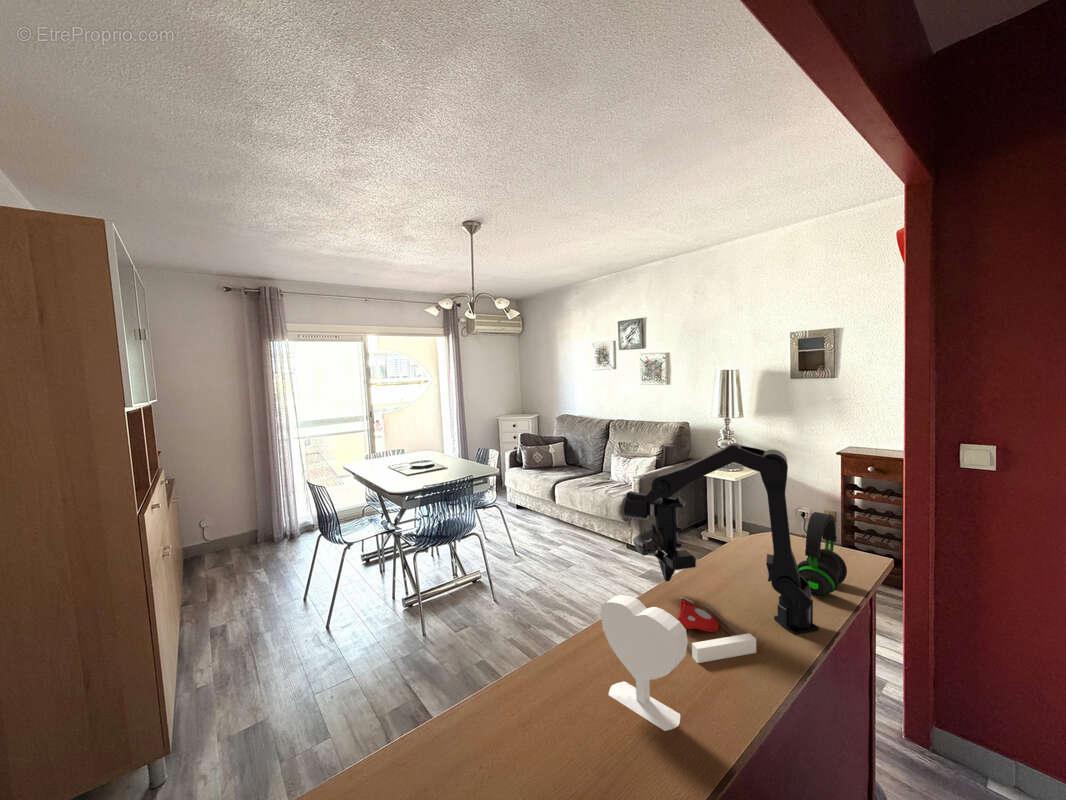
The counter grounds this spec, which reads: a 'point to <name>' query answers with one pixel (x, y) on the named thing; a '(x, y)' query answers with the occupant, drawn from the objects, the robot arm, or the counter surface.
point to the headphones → (822, 556)
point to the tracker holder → (696, 617)
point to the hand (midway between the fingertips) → (666, 580)
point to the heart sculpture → (644, 653)
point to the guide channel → (722, 642)
